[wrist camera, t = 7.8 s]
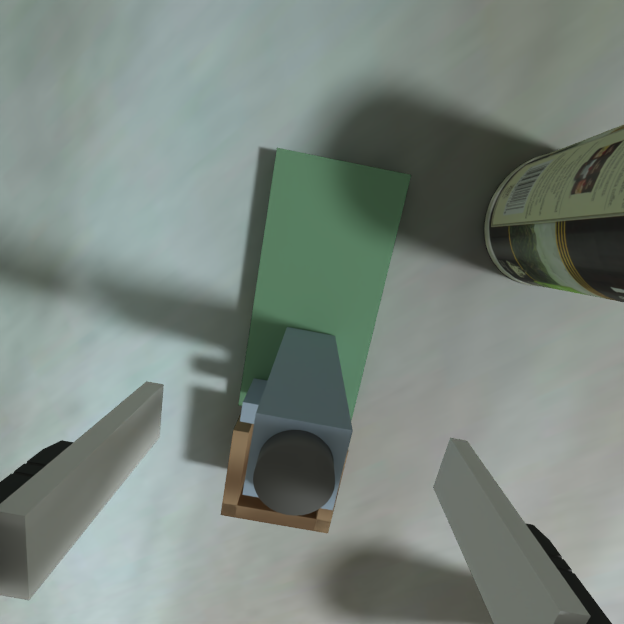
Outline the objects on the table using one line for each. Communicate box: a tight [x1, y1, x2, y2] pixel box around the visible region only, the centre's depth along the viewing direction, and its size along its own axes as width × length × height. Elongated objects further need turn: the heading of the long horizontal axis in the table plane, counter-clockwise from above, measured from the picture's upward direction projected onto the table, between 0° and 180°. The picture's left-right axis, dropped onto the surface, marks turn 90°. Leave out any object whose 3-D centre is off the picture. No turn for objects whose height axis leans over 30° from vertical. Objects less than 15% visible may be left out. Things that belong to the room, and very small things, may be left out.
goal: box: [221, 414, 348, 533], centre depth 27 cm, size 8×9×5 cm
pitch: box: [238, 148, 411, 420], centre depth 26 cm, size 21×10×2 cm, turn 169°
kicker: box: [240, 327, 353, 516], centre depth 19 cm, size 7×8×14 cm
